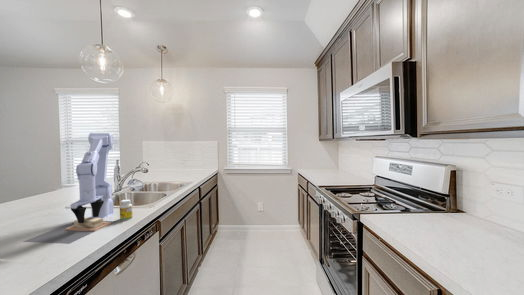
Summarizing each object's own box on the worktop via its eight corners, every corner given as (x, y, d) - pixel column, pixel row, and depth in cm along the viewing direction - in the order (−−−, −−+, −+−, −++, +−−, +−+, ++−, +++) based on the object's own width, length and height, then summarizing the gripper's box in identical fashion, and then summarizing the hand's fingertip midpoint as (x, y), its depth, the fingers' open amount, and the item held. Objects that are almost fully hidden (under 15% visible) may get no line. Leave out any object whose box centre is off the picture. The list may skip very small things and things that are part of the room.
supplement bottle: (134, 218, 115) (134, 199, 115) (124, 222, 110) (123, 202, 110) (128, 217, 118) (128, 198, 117) (117, 220, 113) (117, 201, 113)
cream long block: (103, 225, 105) (102, 218, 105) (94, 229, 100) (94, 221, 100) (83, 224, 106) (83, 217, 106) (74, 228, 102) (74, 220, 101)
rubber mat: (79, 221, 113) (79, 220, 113) (116, 222, 110) (116, 221, 110) (23, 242, 89) (23, 241, 89) (69, 244, 86) (69, 243, 86)
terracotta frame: (83, 223, 108) (83, 221, 108) (110, 224, 107) (110, 222, 107) (65, 230, 100) (65, 228, 100) (95, 231, 98) (95, 229, 98)
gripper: (93, 186, 110) (94, 214, 111) (63, 193, 96) (65, 225, 96) (106, 186, 109) (107, 214, 110) (79, 193, 95) (80, 226, 96)
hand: (88, 219), depth 103 cm, fingers open, 7 cm apart
